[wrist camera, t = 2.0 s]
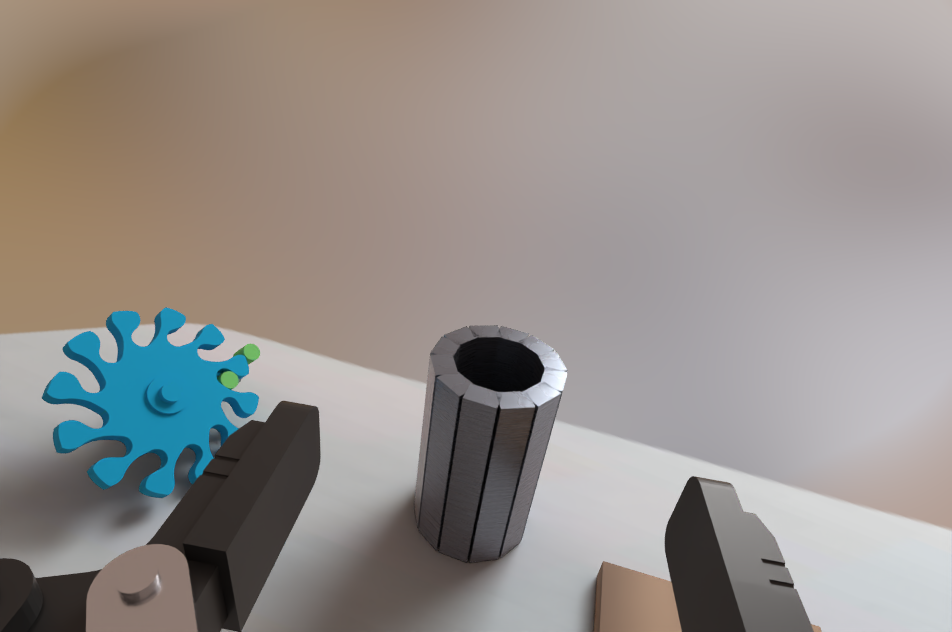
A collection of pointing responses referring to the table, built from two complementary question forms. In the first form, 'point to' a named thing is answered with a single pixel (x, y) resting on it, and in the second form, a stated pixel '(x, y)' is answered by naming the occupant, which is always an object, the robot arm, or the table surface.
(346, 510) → the table surface
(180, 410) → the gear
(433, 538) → the sleeve
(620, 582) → the base plate
